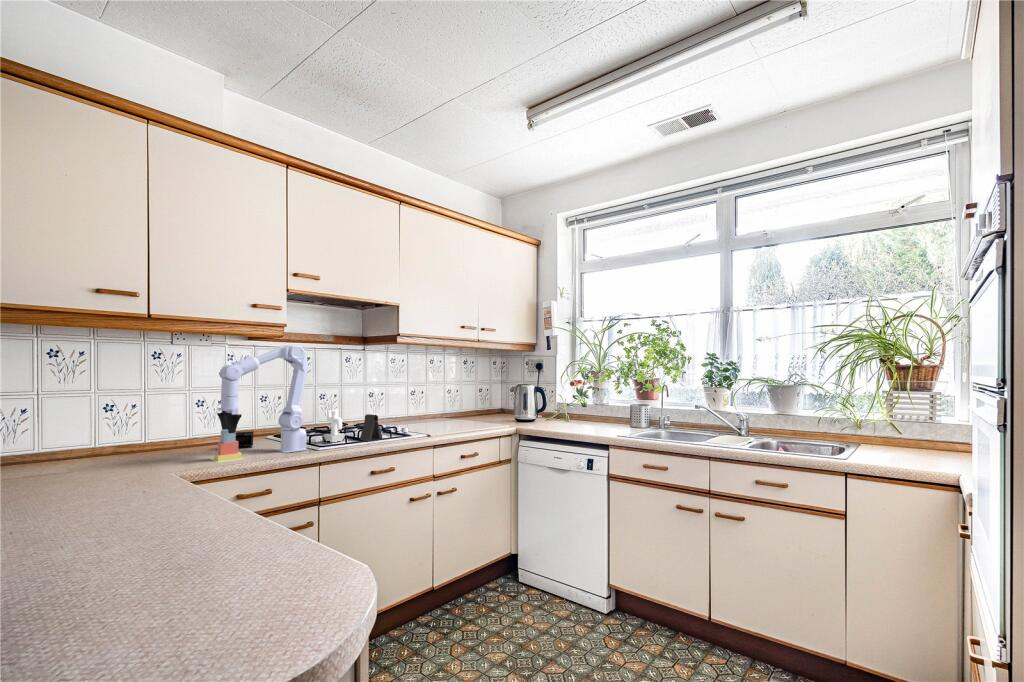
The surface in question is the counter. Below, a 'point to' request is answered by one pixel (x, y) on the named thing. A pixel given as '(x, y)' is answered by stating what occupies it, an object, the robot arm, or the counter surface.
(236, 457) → the mustard brick
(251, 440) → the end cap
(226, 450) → the red brick
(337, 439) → the figurine
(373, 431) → the phone stand
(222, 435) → the blue brick
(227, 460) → the baseplate
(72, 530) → the counter surface
